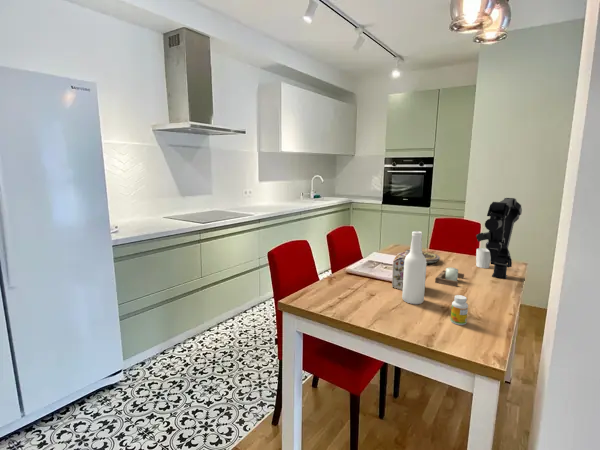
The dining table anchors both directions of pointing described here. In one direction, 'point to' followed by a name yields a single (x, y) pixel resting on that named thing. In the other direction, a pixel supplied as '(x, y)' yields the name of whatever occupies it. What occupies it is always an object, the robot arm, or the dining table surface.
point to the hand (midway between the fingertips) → (493, 259)
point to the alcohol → (414, 272)
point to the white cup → (483, 258)
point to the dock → (447, 282)
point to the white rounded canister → (451, 274)
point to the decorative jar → (399, 270)
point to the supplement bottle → (459, 310)
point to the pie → (430, 257)
